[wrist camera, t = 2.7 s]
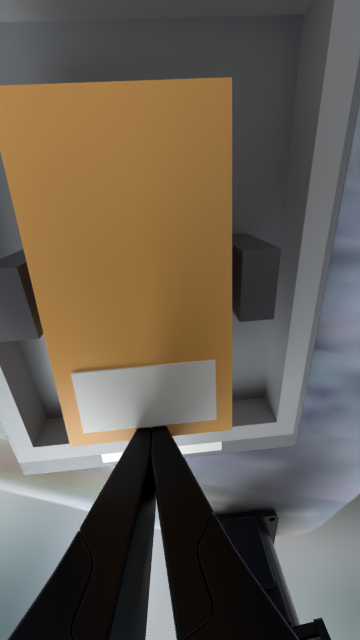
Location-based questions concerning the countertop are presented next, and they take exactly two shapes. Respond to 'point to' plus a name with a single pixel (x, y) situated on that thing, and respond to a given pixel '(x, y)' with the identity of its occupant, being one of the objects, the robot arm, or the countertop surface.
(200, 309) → the plate
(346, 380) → the countertop surface
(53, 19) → the switch panel
